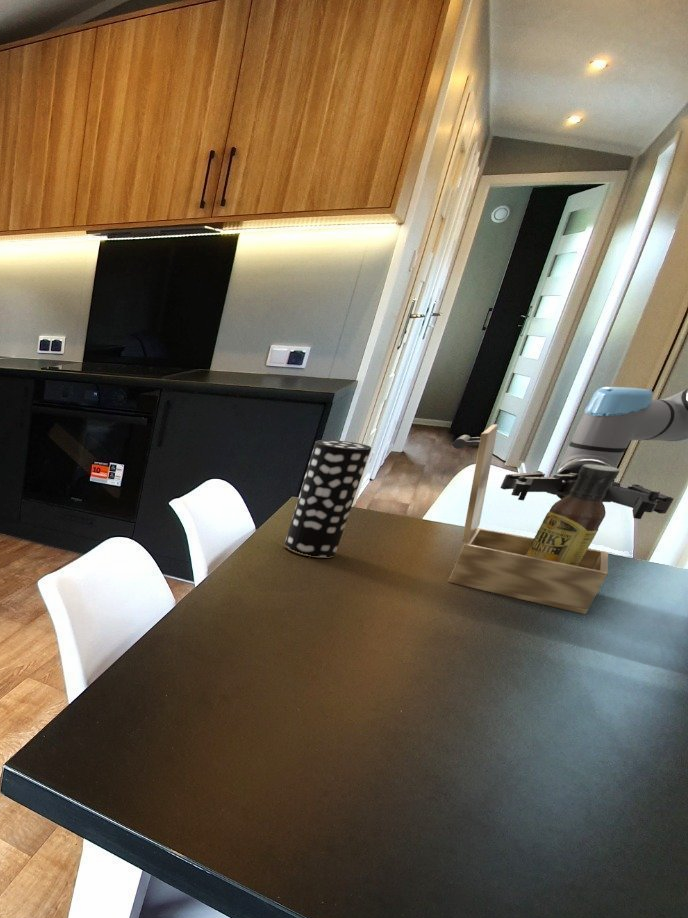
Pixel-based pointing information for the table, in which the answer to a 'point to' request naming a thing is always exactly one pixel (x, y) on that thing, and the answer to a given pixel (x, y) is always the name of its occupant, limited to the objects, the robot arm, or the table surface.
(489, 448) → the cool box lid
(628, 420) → the robot arm
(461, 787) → the table surface
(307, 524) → the white-spotted black cylinder
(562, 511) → the sauce bottle
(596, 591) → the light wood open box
